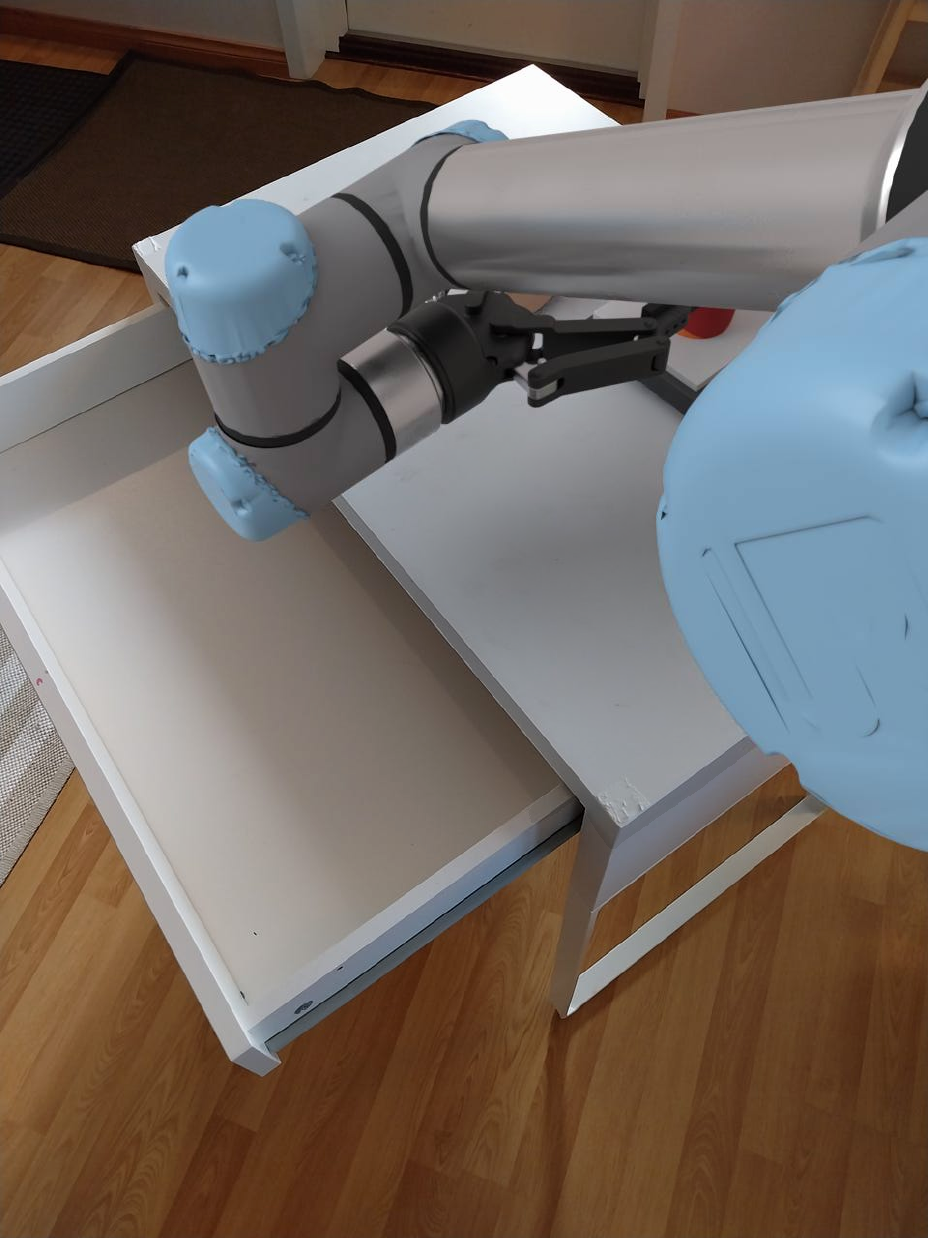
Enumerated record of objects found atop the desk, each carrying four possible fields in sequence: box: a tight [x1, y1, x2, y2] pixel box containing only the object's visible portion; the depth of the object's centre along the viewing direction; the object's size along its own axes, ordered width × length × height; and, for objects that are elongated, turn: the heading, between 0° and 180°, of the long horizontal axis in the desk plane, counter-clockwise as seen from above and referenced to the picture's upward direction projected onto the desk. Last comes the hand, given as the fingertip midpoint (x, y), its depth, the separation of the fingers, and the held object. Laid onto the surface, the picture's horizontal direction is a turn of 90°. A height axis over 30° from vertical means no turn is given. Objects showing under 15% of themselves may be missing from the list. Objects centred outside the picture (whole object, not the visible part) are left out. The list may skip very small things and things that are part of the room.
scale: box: [586, 300, 775, 416], centre depth 83 cm, size 16×14×3 cm
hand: (639, 237), depth 69 cm, fingers open, 13 cm apart
